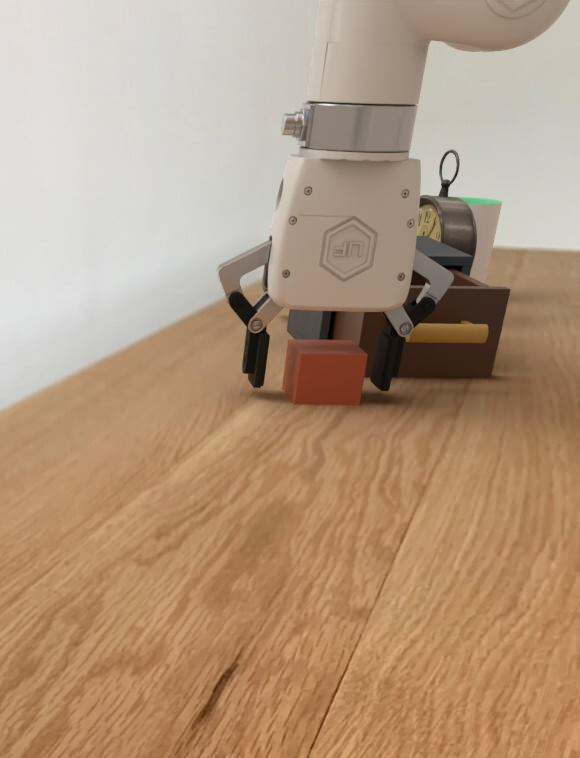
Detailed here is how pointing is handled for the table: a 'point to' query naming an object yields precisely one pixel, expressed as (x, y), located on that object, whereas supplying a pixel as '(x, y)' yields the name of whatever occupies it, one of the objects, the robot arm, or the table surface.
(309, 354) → the block
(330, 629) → the table surface
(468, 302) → the drawer
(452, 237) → the alarm clock
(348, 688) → the table surface
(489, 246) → the mug
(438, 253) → the cabinet
